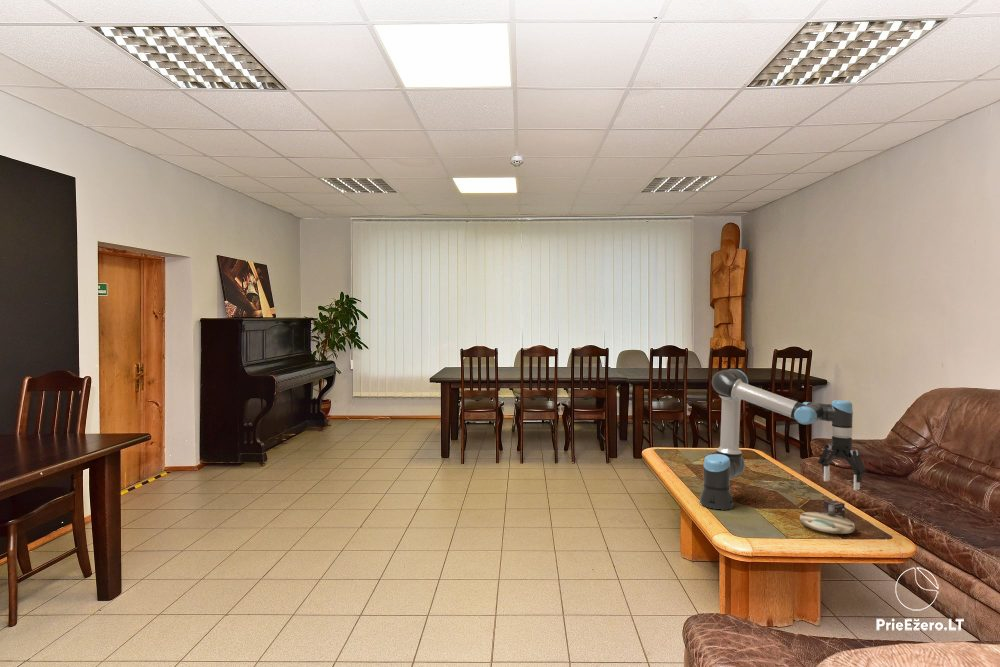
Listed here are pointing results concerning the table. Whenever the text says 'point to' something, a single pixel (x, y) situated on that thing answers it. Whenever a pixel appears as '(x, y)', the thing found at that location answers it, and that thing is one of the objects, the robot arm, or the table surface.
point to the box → (838, 507)
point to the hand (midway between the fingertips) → (841, 485)
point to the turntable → (827, 522)
